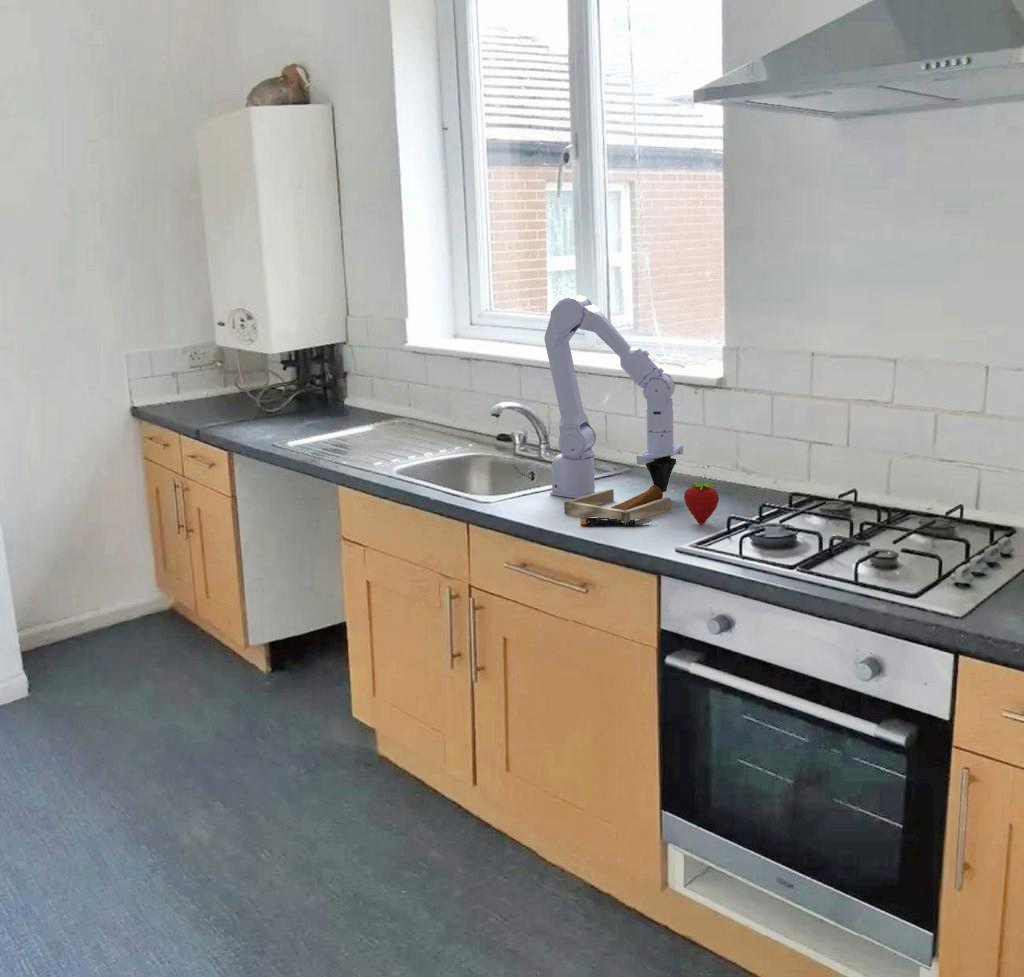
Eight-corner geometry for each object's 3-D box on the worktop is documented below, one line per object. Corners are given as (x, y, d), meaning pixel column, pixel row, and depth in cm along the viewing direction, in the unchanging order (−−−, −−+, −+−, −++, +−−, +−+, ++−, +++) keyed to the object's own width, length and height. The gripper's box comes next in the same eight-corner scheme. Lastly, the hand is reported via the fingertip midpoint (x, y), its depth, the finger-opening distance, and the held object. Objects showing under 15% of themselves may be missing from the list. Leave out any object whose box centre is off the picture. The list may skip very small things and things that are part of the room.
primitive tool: (617, 520, 224) (617, 503, 223) (595, 517, 227) (594, 500, 227) (665, 501, 239) (664, 485, 238) (643, 498, 242) (643, 483, 241)
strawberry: (697, 517, 222) (697, 469, 219) (725, 524, 216) (726, 475, 214) (677, 523, 218) (676, 474, 216) (705, 530, 212) (705, 479, 210)
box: (564, 513, 230) (564, 501, 229) (609, 499, 240) (609, 488, 240) (626, 524, 219) (626, 512, 218) (670, 509, 229) (670, 498, 229)
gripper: (655, 437, 229) (655, 500, 232) (694, 427, 239) (694, 487, 242) (628, 434, 234) (629, 495, 237) (668, 424, 244) (668, 483, 247)
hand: (660, 491), depth 240 cm, fingers closed
